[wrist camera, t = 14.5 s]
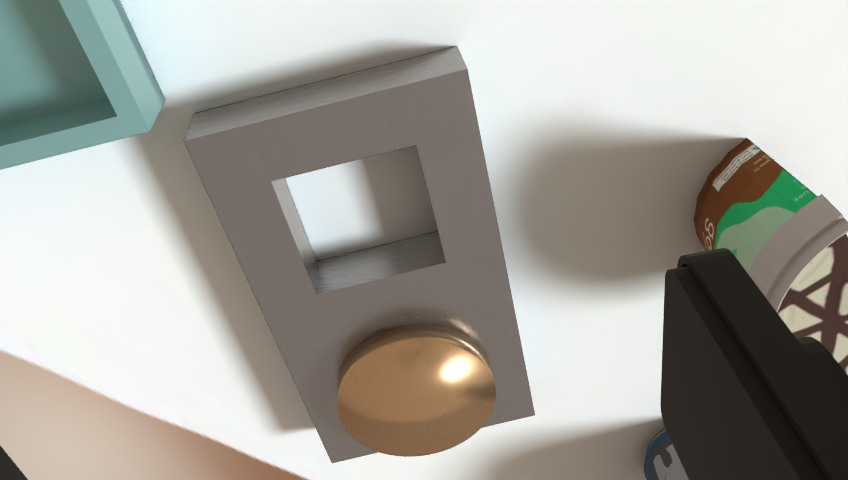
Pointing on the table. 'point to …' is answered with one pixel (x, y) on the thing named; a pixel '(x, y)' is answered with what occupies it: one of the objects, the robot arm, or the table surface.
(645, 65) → the table surface
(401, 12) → the table surface
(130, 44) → the tray
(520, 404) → the bracket
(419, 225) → the table surface
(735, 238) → the food container
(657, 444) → the soda can
